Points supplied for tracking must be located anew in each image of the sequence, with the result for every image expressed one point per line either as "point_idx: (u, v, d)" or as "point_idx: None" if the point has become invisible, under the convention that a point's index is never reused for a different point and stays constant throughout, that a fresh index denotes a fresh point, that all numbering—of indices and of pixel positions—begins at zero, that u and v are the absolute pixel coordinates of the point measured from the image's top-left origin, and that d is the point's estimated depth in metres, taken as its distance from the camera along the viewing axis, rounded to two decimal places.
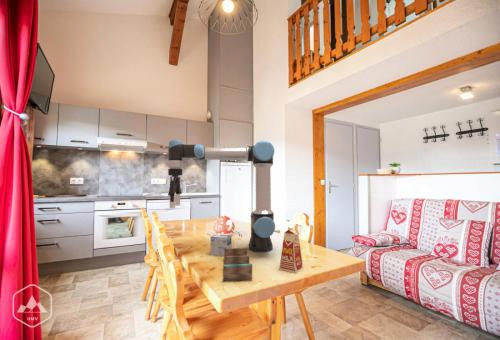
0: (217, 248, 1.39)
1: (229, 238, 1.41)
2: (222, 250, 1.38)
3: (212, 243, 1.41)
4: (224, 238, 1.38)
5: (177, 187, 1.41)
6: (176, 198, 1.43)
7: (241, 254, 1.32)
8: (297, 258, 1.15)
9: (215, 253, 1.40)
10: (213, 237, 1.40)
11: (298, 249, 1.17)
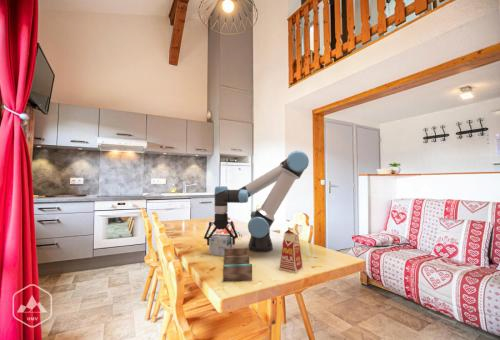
0: (217, 248, 1.39)
1: (229, 238, 1.41)
2: (222, 250, 1.38)
3: (212, 243, 1.41)
4: (224, 238, 1.38)
5: (227, 231, 1.43)
6: None
7: (241, 254, 1.32)
8: (297, 258, 1.15)
9: (215, 253, 1.40)
10: (213, 237, 1.40)
11: (298, 249, 1.17)
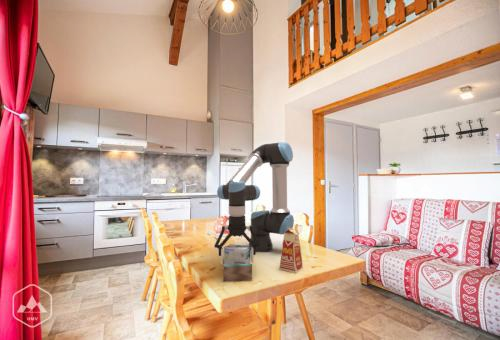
0: (232, 263, 1.09)
1: (248, 250, 1.10)
2: None
3: (226, 256, 1.10)
4: (242, 250, 1.07)
5: None
6: (251, 253, 1.13)
7: None
8: (297, 258, 1.15)
9: None
10: (227, 249, 1.10)
11: (298, 249, 1.17)
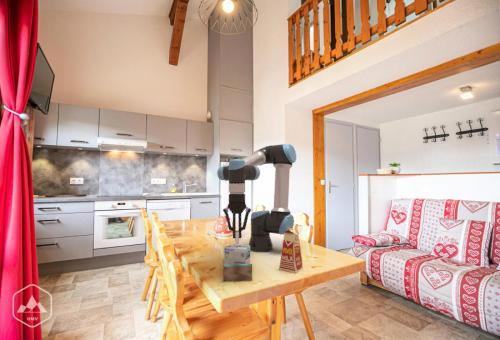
0: (232, 263, 1.09)
1: (248, 250, 1.10)
2: None
3: (226, 256, 1.10)
4: (242, 250, 1.07)
5: (238, 218, 1.12)
6: None
7: None
8: (297, 258, 1.15)
9: None
10: (227, 249, 1.10)
11: (298, 249, 1.17)
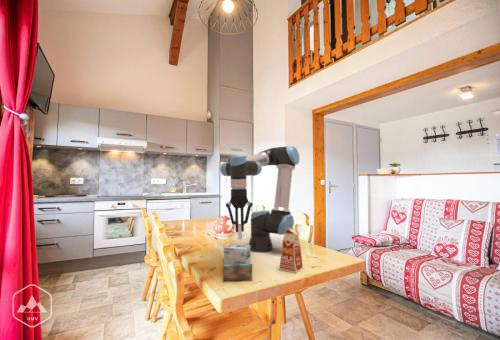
0: (232, 262, 1.09)
1: (248, 250, 1.10)
2: None
3: (226, 256, 1.10)
4: (242, 250, 1.07)
5: None
6: None
7: None
8: (297, 258, 1.15)
9: None
10: (228, 248, 1.10)
11: (298, 249, 1.17)
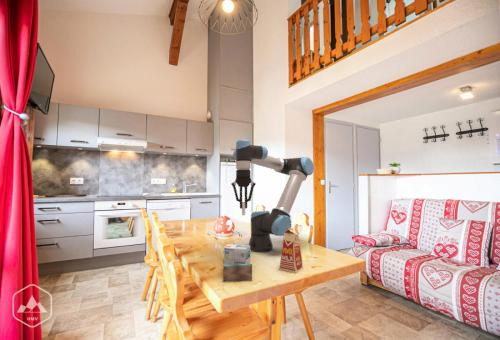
0: (232, 263, 1.09)
1: (248, 250, 1.10)
2: None
3: (226, 256, 1.10)
4: (242, 250, 1.07)
5: None
6: None
7: None
8: (297, 258, 1.15)
9: None
10: (227, 249, 1.10)
11: (298, 249, 1.17)
